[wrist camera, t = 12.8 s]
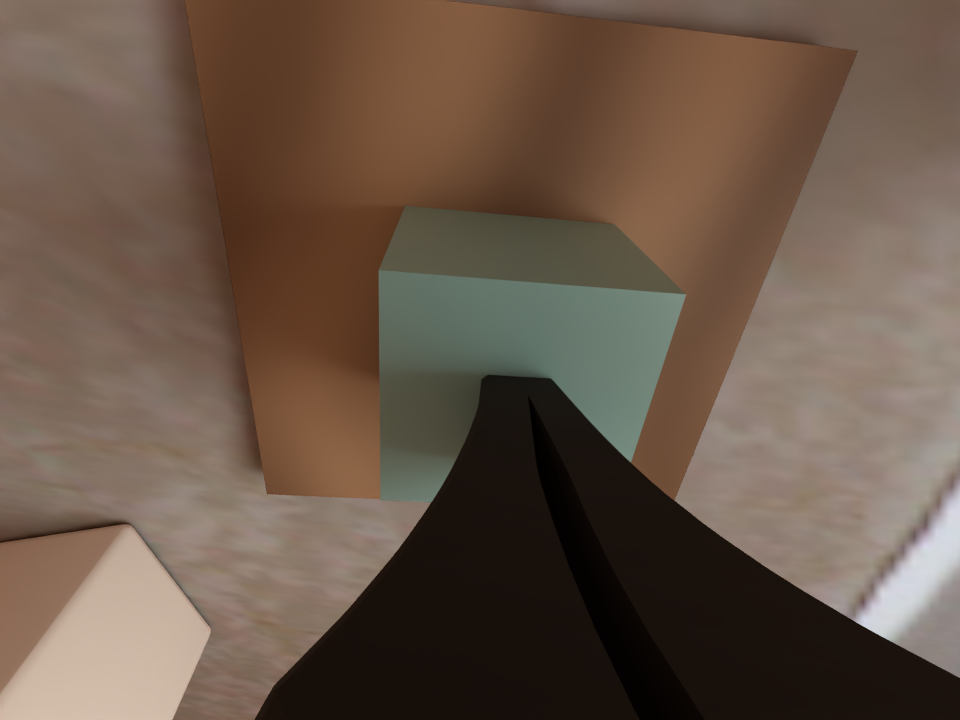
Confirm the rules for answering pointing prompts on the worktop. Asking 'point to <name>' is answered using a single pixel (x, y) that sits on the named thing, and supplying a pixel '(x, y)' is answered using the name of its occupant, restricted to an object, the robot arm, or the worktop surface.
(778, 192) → the board
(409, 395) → the sage green cube
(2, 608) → the medicine bottle
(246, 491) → the worktop surface
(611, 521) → the robot arm
